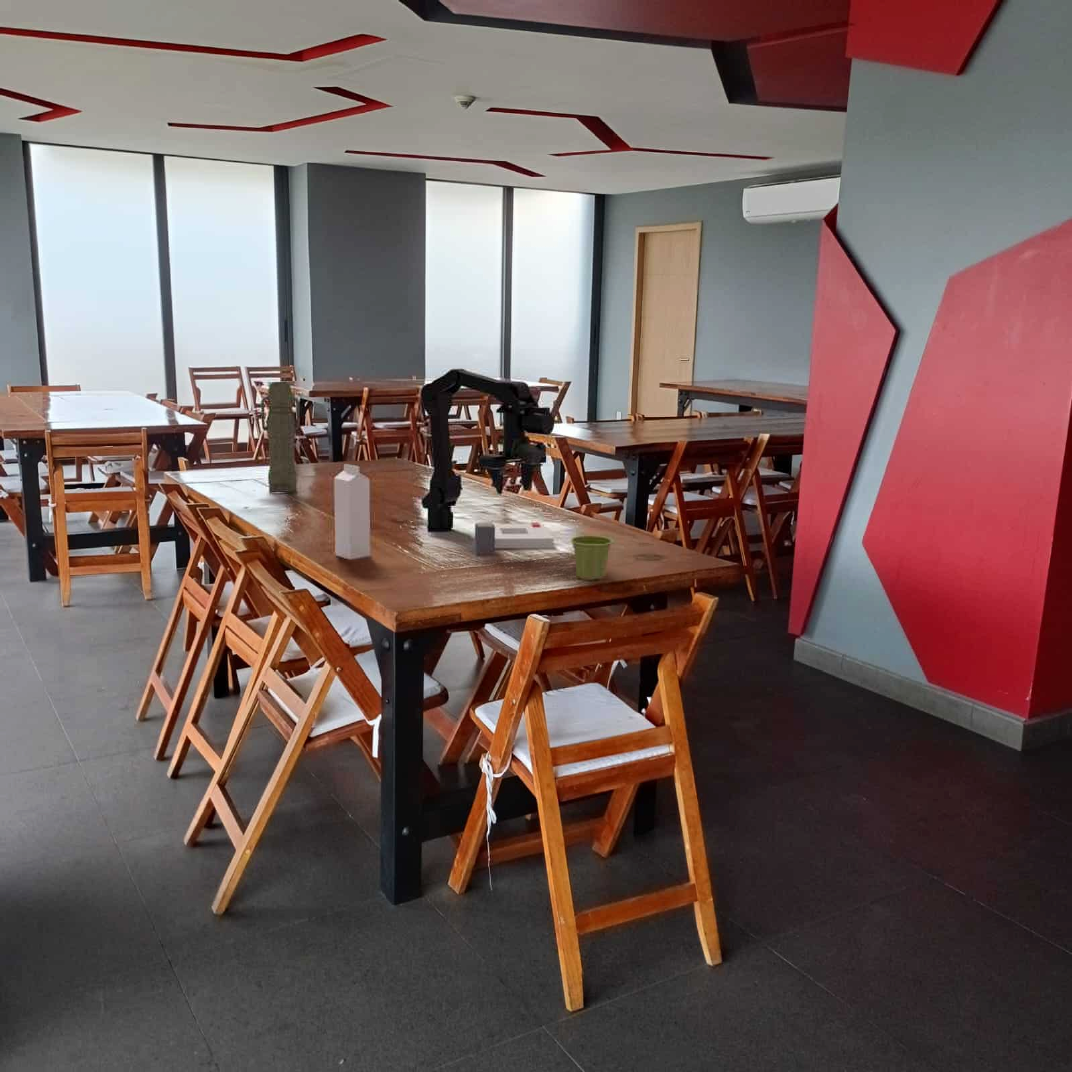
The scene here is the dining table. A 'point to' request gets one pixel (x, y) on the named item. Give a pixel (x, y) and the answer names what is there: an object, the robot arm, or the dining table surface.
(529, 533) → the socket plate
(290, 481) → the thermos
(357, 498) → the milk
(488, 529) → the plug
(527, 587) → the dining table surface
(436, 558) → the dining table surface
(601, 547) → the plant pot
